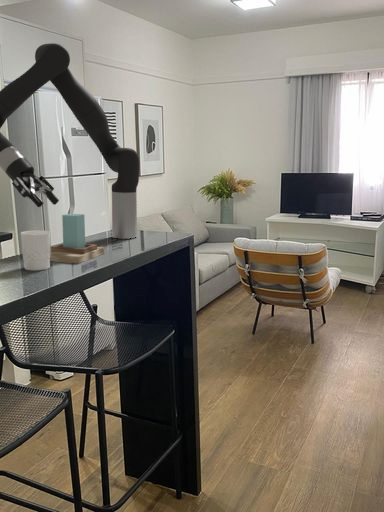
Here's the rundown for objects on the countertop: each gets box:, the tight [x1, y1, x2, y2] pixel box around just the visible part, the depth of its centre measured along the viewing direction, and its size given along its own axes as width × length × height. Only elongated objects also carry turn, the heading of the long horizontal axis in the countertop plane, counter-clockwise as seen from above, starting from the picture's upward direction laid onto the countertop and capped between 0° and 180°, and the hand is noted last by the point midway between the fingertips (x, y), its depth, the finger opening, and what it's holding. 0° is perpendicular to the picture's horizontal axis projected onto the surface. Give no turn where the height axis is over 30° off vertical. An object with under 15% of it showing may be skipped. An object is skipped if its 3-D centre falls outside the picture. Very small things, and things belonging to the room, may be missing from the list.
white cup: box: [20, 229, 52, 271], centre depth 140 cm, size 8×8×10 cm
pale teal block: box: [61, 213, 86, 249], centre depth 155 cm, size 4×5×11 cm
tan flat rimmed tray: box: [50, 242, 105, 265], centre depth 156 cm, size 16×12×4 cm
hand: (49, 204), depth 156 cm, fingers open, 8 cm apart
